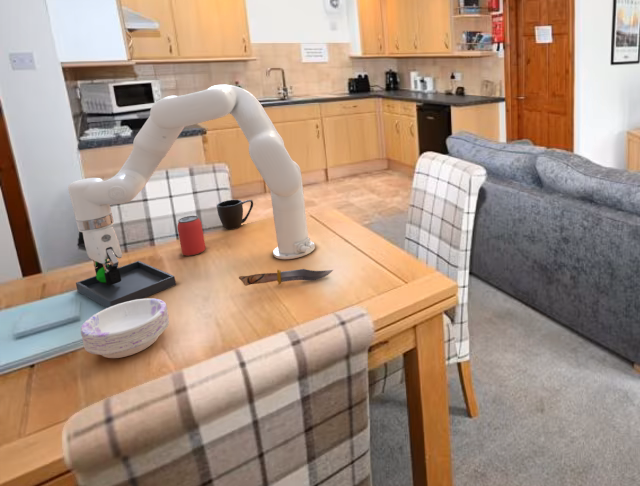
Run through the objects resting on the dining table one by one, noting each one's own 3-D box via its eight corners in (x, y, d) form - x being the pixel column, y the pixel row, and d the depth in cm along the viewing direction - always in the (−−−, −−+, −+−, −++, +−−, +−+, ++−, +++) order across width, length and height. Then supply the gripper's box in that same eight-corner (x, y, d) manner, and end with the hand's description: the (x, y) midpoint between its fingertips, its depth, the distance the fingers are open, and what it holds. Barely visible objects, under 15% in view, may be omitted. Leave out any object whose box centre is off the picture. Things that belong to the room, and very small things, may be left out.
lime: (107, 286, 130) (103, 271, 129) (93, 285, 131) (89, 270, 130) (125, 278, 135) (121, 263, 134) (111, 276, 136) (108, 262, 135)
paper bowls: (187, 332, 111) (181, 302, 110) (116, 374, 97) (109, 341, 96) (143, 320, 116) (137, 292, 115) (71, 359, 102) (63, 327, 101)
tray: (176, 284, 134) (174, 276, 133) (112, 311, 121) (110, 301, 120) (140, 268, 144) (138, 260, 143) (77, 291, 131) (75, 282, 130)
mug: (258, 223, 179) (255, 200, 176) (223, 232, 171) (219, 208, 169) (252, 218, 184) (249, 195, 182) (218, 226, 176) (214, 203, 174)
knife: (334, 276, 137) (333, 260, 136) (334, 278, 136) (332, 262, 135) (241, 290, 130) (239, 274, 129) (240, 293, 129) (237, 276, 128)
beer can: (189, 248, 158) (183, 215, 155) (210, 247, 158) (204, 214, 156) (177, 257, 151) (171, 222, 149) (198, 256, 152) (192, 221, 149)
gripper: (126, 222, 128) (139, 281, 132) (98, 213, 136) (111, 269, 140) (92, 232, 122) (107, 294, 126) (65, 221, 130) (80, 280, 134)
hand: (109, 280), depth 133 cm, fingers closed on lime, 5 cm apart
